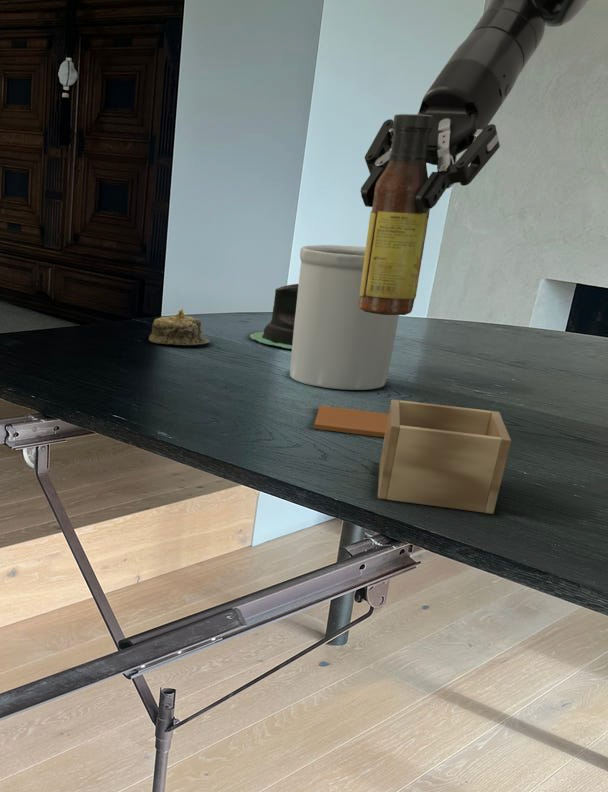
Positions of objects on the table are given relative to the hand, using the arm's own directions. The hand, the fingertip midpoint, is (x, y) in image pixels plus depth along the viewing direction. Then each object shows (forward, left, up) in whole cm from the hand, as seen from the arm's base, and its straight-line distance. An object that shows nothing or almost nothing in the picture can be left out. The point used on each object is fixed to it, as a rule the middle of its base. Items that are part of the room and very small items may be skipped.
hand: (392, 203), depth 106 cm
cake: (+30, -44, -25) cm, 58 cm away
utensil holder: (+4, -28, -25) cm, 37 cm away
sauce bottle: (-1, -1, -12) cm, 12 cm away
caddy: (-8, +20, -25) cm, 33 cm away
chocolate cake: (+10, -57, -25) cm, 63 cm away
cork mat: (0, -3, -25) cm, 25 cm away
